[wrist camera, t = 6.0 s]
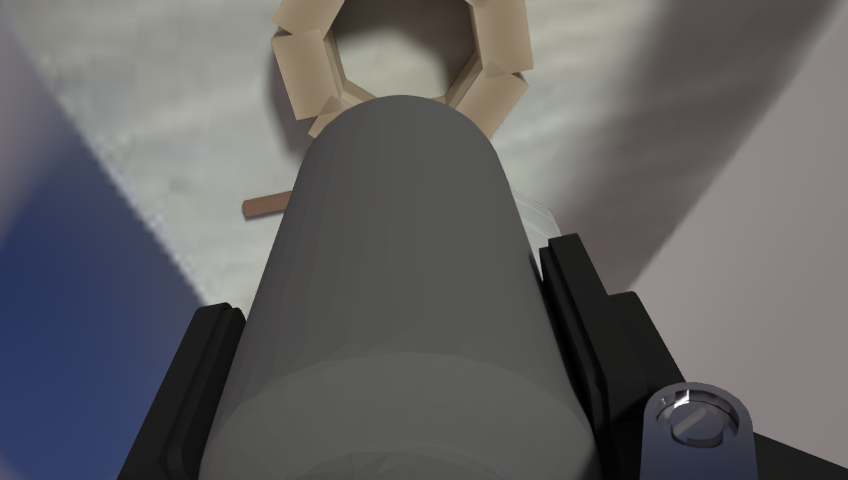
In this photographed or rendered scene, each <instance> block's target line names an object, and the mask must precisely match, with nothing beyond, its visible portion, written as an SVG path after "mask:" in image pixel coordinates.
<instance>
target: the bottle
mask: <svg viewBox="0 0 848 480" xmlns="http://www.w3.org/2000/svg"><path fill="white" fill-rule="evenodd" d="M198 480H603V472H602V466H601V460H600V454H599V449H598V446H597V443H596V440H595V437H594V434H593V430H592V427H591V424H590V421H589V418H588V415H587V411H586V408H585V405H584V402H583V399H582V396H581V393H580V390H579V387H578V384H577V381H576V378H575V375H574V372H573V369H572V366H571V363H570V360H569V357H568V354H567V351H566V349H565V346H564V343H563V340H562V337H561V334H560V331H559V328H558V325H557V322H556V319H555V316H554V313H553V310H552V308H551V305H550V302H549V299H548V296H547V293H546V290H545V287H544V284H543V280H542V277H541V274H540V272H539V269H538V266H537V263H536V260H535V257H534V254H533V252H532V249H531V246H530V243H529V240H528V237H527V234H526V232H525V229H524V226H523V223H522V220H521V217H520V214H519V212H518V209H517V206H516V203H515V200H514V197H513V194H512V192H511V189H510V186H509V183H508V180H507V178H506V175H505V173H504V170H503V168H502V165H501V163H500V161H499V158H498V156H497V153H496V151H495V150H494V148H493V146H492V144H491V143H490V141H489V139H488V138H487V137H486V136H485V134H484V133H483V132H482V131H481V130H480V129H479V127H478V126H477V125H476V124H475V123H474V122H473V121H472V120H470V119H469V118H468V117H466V116H465V115H463V114H462V113H460V112H459V111H457V110H455V109H453V108H452V107H450V106H448V105H446V104H443V103H441V102H438V101H435V100H432V99H427V98H422V97H417V96H409V95H394V96H386V97H380V98H375V99H371V100H368V101H365V102H362V103H360V104H357V105H355V106H353V107H351V108H349V109H347V110H345V111H343V112H342V113H341V114H340V115H338V116H337V117H336V118H335V119H333V120H332V121H331V122H330V123H328V124H327V125H326V126H325V127H324V128H323V130H322V131H321V132H320V133H319V134H318V136H317V137H316V138H315V140H314V141H313V143H312V144H311V146H310V148H309V150H308V152H307V154H306V156H305V158H304V160H303V163H302V165H301V167H300V170H299V173H298V176H297V179H296V181H295V184H294V187H293V190H292V193H291V196H290V198H289V201H288V204H287V207H286V210H285V213H284V215H283V218H282V221H281V224H280V227H279V230H278V232H277V235H276V238H275V241H274V244H273V247H272V249H271V252H270V255H269V258H268V261H267V264H266V267H265V269H264V272H263V275H262V278H261V281H260V284H259V287H258V290H257V293H256V295H255V298H254V301H253V304H252V307H251V310H250V313H249V316H248V318H247V321H246V324H245V327H244V330H243V333H242V336H241V339H240V341H239V344H238V347H237V350H236V353H235V356H234V359H233V362H232V365H231V368H230V371H229V374H228V377H227V380H226V383H225V386H224V389H223V393H222V396H221V399H220V402H219V405H218V408H217V411H216V414H215V417H214V420H213V423H212V427H211V430H210V433H209V436H208V440H207V443H206V446H205V449H204V453H203V456H202V459H201V464H200V470H199V477H198Z"/></svg>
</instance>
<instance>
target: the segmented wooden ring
mask: <svg viewBox="0 0 848 480" xmlns="http://www.w3.org/2000/svg"><path fill="white" fill-rule="evenodd" d="M344 1H345V0H282V2H281V4H280V6H279V8H278V10H277V12H276V14H275V16H274V17H273V19H272V22H273V23H275V24H277V25H278V26H280V29H279V30H278V31H277V32H276V34H275V35H274V36H273V37H272V39H271V40H270V41H271V44H272V47H273V50H274V53H275V56H276V59H277V62H278V65H279V68H280V71H281V74H282V77H283V80H284V84H285V87H286V90H287V93H288V96H289V99H290V102H291V105H292V108H293V111H294V114H295V117H296V120H301V119H305V118H310V117H314V118H313V121H312V123H311V126H310V129H309V132H308V134H309V135H311V136H312V137H314V138H316V137H317V136H318V134H319V133H320V132H321V131H322V130H323V128H324V127H325V126H326V125H327V124H328V123H330V122H331V121H332V120H333V119H335V118H336V117H337V116H338V115H340V114H341V113H342V112H343V111H345V110H347V109H349V108H351V107H353V106H355V105H357V104H360V103H362V102H365V101H368V100H371V99H375V98H377V97H375V96H373V95H372V94H370V93H368V92H367V91H365V90H363V89H362V88H360V87H359V86H357V85H355V84H354V83H352V82H350V81H349V80H347V79H346V78H345V74H344V70H343V67H342V63H341V59H340V56H339V52H338V49H337V45H336V41H335V38H334V34H333V31H332V27H331V24H332V22H333V21H334V19H335V17H336V15H337V13H338V12H339V10H340V8H341V6H342V4H343V3H344ZM465 1H467V4H468V10H469V16H470V21H471V27H472V33H473V39H474V45H475V51H474V53H473V54H472V56H471V57H470V59H469V60H468V62H467V63H466V65H465V66H464V68H463V69H462V71H461V72H460V74H459V75H458V77H457V78H456V79H455V81H454V82H453V84H452V85H451V87H450V88H449V90H448V91H447V93H446V94H445V96H441V97H437V98H432V100H435V101H438V102H441V103H443V104H446V105H448V106H450V107H452V108H453V109H455V110H457V111H459V112H460V113H462V114H463V115H465V116H466V117H468V118H469V119H470V120H472V121H473V122H474V123H475V124H476V125H477V126H478V127H479V129H480V130H481V131H482V132H483V133H484V134H485V136H486V137H487V138H488V139H489V140H490V138H491V137H492V136H493V134H494V133H495V132H496V130H497V129H498V128H499V126H500V125H501V123H502V122H503V121H504V119H505V118H506V117H507V115H508V114H509V112H510V111H511V110H512V108H513V107H514V106H515V104H516V103H517V102H518V100H519V99H520V97H521V96H522V95H523V93H524V92H525V91H526V89H527V88H528V87H529V85H528V84H527V82H526V80H525V79H524V77H523V75H522V74H521V72H520V71H525V70H530V69H534V68H533V60H532V53H531V45H530V37H529V29H528V21H527V13H526V5H525V0H465Z"/></svg>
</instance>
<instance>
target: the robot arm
mask: <svg viewBox="0 0 848 480" xmlns="http://www.w3.org/2000/svg"><path fill="white" fill-rule="evenodd" d="M539 257H540V264H541V271H542V278H543V284H544V287H545V290H546V293H547V296H548V299H549V302H550V305H551V308H552V310H553V313H554V316H555V319H556V322H557V325H558V328H559V331H560V334H561V337H562V340H563V343H564V346H565V349H566V351H567V354H568V357H569V360H570V363H571V366H572V369H573V372H574V375H575V378H576V381H577V384H578V387H579V390H580V393H581V396H582V399H583V402H584V405H585V408H586V411H587V415H588V418H589V421H590V424H591V427H592V430H593V434H594V437H595V440H596V443H597V446H598V449H599V454H600V460H601V466H602V472H603V480H848V469H847V468H844V467H842V466H839V465H837V464H834V463H832V462H829V461H826V460H824V459H821V458H818V457H816V456H814V455H811V454H808V453H806V452H803V451H801V450H798V449H796V448H793V447H790V446H788V445H785V444H783V443H780V442H778V441H775V440H772V439H770V438H767V437H765V436H762V435H760V434H757V433H755V432H753V426H752V421H751V418H750V415H749V412H748V410H747V409H746V407H745V406H744V405H743V404H742V403H741V401H740V400H739V399H737V398H736V397H735V396H733V395H731V394H730V393H729V392H727V391H725V390H723V389H720V388H718V387H715V386H713V385H708V384H703V383H697V382H689V383H686V381H685V379H684V377H683V376H682V374H681V372H680V370H679V368H678V367H677V365H676V363H675V361H674V359H673V358H672V356H671V354H670V352H669V351H668V349H667V347H666V345H665V343H664V342H663V340H662V338H661V336H660V335H659V333H658V331H657V329H656V328H655V326H654V324H653V322H652V321H651V319H650V317H649V315H648V313H647V311H646V310H645V308H644V306H643V304H642V302H641V301H640V299H639V297H638V296H637V294H636V293H635V292H633V291H630V292H625V293H619V294H614V295H609V296H608V295H607V293H606V291H605V289H604V287H603V285H602V282H601V280H600V278H599V276H598V274H597V272H596V270H595V268H594V266H593V264H592V262H591V260H590V258H589V256H588V254H587V252H586V250H585V248H584V246H583V244H582V242H581V240H580V238H579V236H578V234H577V233H574V234H569V235H564V236H559V237H554V238H549V239H548V246H547V247H542V248H539ZM245 324H246V320H245V317H244V315H243V313H242V311H241V310H240V309H239V308H237V307H236V308H232V306H231V305H230V304H229V303H226V302H225V303H220V304H215V305H210V306H204V307H200V308H198V309H197V310H196V312H195V314H194V316H193V318H192V320H191V322H190V325H189V327H188V329H187V331H186V333H185V335H184V337H183V339H182V342H181V344H180V346H179V348H178V350H177V352H176V354H175V356H174V359H173V361H172V363H171V365H170V367H169V369H168V371H167V373H166V376H165V378H164V380H163V382H162V384H161V386H160V388H159V390H158V393H157V395H156V397H155V399H154V401H153V403H152V405H151V408H150V410H149V412H148V414H147V416H146V418H145V420H144V422H143V424H142V427H141V429H140V431H139V433H138V435H137V437H136V439H135V442H134V444H133V446H132V448H131V450H130V452H129V454H128V456H127V459H126V461H125V463H124V465H123V467H122V469H121V471H120V473H119V476H118V478H117V480H198V477H199V470H200V464H201V459H202V456H203V453H204V449H205V446H206V443H207V440H208V436H209V433H210V430H211V427H212V423H213V420H214V417H215V414H216V411H217V408H218V405H219V402H220V399H221V396H222V393H223V389H224V386H225V383H226V380H227V377H228V374H229V371H230V368H231V365H232V362H233V359H234V356H235V353H236V350H237V347H238V344H239V341H240V339H241V336H242V333H243V330H244V327H245Z"/></svg>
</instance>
